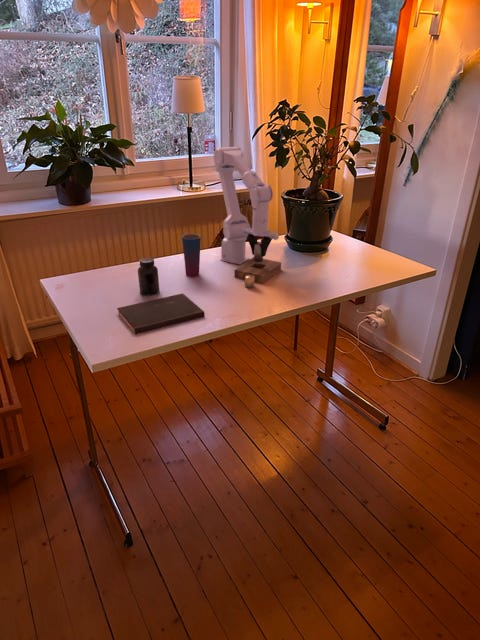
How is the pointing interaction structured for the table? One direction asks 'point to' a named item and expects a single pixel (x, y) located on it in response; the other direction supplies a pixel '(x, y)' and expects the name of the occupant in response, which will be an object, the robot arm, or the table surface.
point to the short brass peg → (249, 281)
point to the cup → (191, 253)
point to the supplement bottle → (148, 277)
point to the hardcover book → (160, 313)
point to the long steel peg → (258, 252)
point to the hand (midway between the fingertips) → (258, 254)
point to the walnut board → (258, 269)
